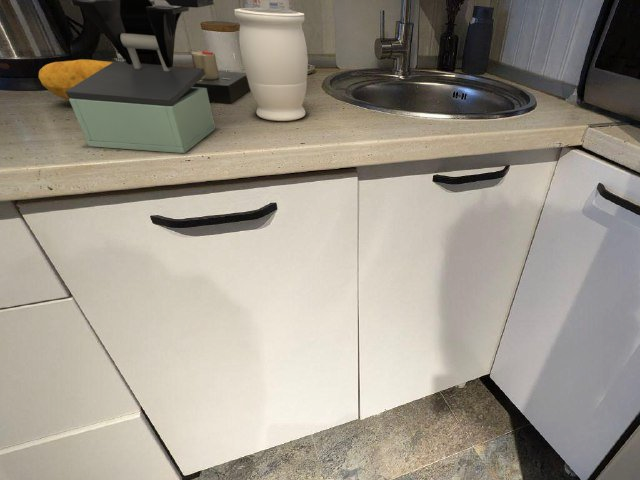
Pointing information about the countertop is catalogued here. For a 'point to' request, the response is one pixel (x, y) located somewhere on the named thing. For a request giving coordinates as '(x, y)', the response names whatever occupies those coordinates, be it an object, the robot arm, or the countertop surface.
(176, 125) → the green box
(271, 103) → the jar
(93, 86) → the box lid
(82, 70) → the potato
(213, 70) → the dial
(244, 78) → the block
